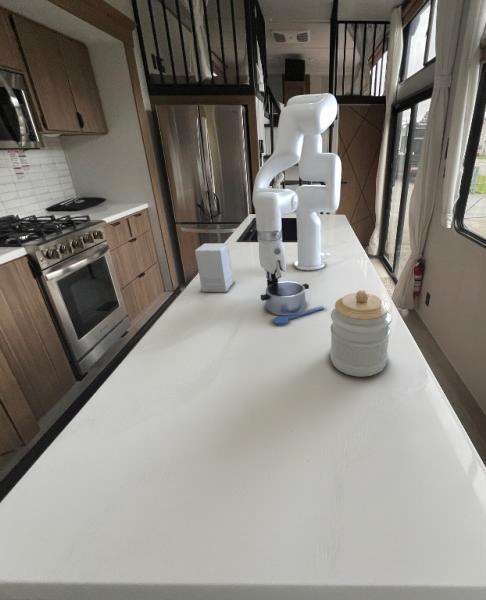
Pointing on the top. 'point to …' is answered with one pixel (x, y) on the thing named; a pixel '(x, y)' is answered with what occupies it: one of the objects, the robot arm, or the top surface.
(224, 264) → the white product box
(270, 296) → the pot
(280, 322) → the spoon
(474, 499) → the top surface
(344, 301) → the jar
